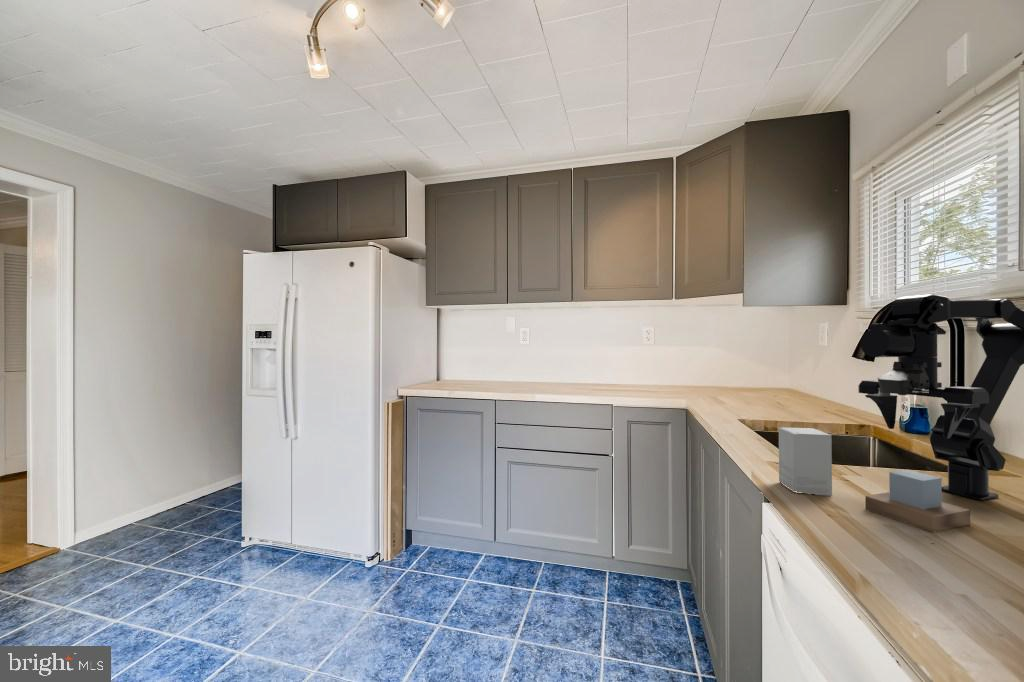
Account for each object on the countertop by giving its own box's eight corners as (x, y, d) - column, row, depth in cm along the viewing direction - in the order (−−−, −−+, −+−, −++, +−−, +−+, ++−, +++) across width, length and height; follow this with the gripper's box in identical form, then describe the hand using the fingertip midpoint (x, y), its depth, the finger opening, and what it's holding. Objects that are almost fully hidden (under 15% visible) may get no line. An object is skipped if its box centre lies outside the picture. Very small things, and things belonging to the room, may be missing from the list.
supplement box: (833, 496, 84) (833, 435, 84) (793, 493, 86) (792, 433, 86) (814, 484, 92) (814, 427, 92) (777, 482, 93) (777, 426, 93)
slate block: (907, 496, 78) (907, 469, 78) (941, 506, 73) (941, 478, 73) (889, 499, 76) (889, 472, 76) (923, 509, 71) (923, 480, 72)
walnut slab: (900, 502, 81) (900, 490, 81) (970, 524, 71) (970, 509, 71) (865, 509, 78) (865, 495, 78) (932, 532, 68) (932, 517, 68)
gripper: (840, 356, 90) (840, 426, 90) (952, 359, 73) (953, 447, 73) (875, 355, 94) (875, 423, 94) (990, 358, 76) (991, 442, 76)
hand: (917, 433), depth 84 cm, fingers open, 9 cm apart
